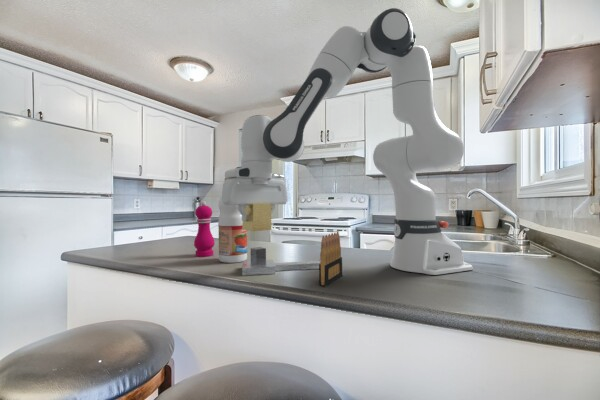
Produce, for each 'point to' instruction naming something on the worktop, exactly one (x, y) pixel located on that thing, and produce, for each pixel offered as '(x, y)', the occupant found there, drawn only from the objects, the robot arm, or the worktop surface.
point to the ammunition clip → (330, 260)
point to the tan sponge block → (258, 217)
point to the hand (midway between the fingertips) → (256, 220)
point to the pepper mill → (204, 231)
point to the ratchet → (272, 264)
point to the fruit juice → (231, 234)
